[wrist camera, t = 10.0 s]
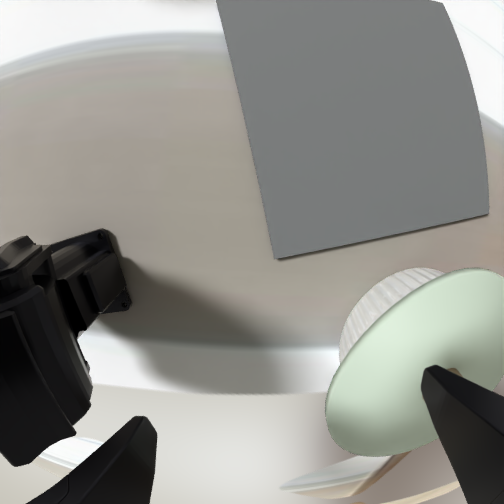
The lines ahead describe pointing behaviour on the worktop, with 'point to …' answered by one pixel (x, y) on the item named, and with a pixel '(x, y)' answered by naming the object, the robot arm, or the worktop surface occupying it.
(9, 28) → the worktop surface
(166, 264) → the worktop surface
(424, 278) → the ramekin
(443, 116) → the mat
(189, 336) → the worktop surface
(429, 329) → the lid
